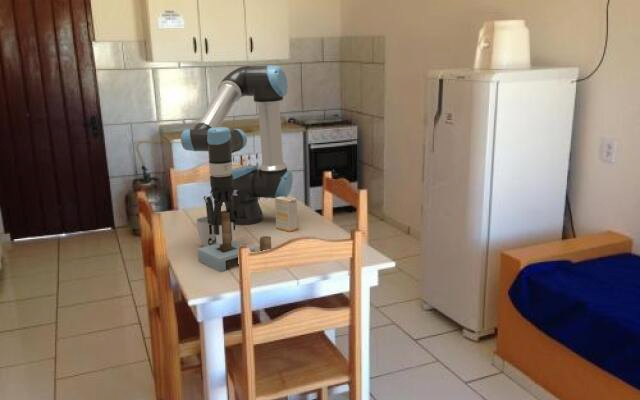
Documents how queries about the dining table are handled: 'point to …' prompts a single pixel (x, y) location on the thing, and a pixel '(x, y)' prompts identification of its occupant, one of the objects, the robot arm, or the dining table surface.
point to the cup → (205, 232)
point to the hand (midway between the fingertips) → (225, 241)
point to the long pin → (225, 231)
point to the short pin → (265, 243)
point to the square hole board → (218, 255)
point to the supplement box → (286, 213)
